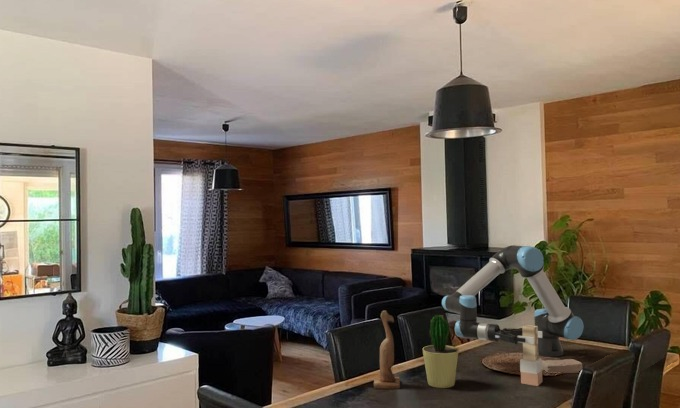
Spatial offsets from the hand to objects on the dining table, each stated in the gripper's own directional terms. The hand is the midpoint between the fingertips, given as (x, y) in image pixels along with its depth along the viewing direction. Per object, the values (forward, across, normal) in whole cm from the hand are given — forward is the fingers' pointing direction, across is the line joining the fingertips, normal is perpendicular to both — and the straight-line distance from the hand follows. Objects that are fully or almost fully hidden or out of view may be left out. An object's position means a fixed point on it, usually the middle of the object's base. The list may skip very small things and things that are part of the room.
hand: (538, 337), depth 220 cm
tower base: (-3, 0, -20) cm, 20 cm away
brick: (+4, -25, -20) cm, 32 cm away
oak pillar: (-3, 0, -10) cm, 10 cm away
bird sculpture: (-54, +36, -20) cm, 68 cm away
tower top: (-3, 0, -15) cm, 15 cm away
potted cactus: (-35, +22, -20) cm, 46 cm away
